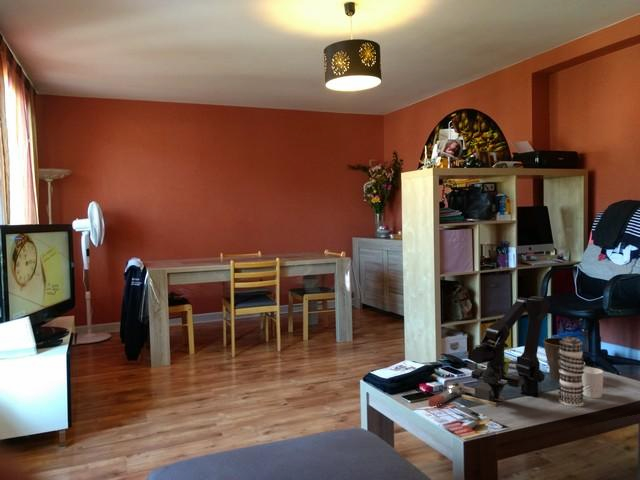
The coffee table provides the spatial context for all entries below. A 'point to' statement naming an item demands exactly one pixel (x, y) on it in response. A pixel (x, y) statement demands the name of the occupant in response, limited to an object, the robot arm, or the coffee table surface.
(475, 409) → the coffee table surface
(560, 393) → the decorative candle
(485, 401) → the guide rails
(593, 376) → the white cup
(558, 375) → the plant pot
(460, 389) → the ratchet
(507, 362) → the plant pot
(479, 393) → the socket
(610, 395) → the coffee table surface
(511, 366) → the c clamp
